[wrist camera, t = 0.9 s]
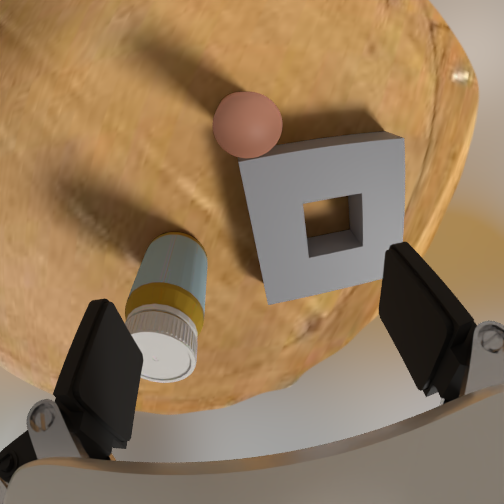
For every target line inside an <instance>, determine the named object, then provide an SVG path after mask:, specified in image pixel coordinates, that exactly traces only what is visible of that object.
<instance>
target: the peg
mask: <svg viewBox="0 0 504 504" xmlns="http://www.w3.org/2000/svg"><path fill="white" fill-rule="evenodd" d="M281 132H282V117H281V114H280V111H279V109H278V108H277V106H276V105H275V104H274V103H273V102H272V101H271V100H270V99H269V98H268V97H266V96H264V95H262V94H259V93H255V92H234V93H231V94H229V95H227V96H226V97H224V98H223V99H222V101H221V102H220V104H219V106H218V108H217V110H216V112H215V115H214V118H213V133H214V136H215V138H216V141H217V142H218V144H219V145H220V146H221V147H222V148H223V149H224V150H225V151H226V152H228V153H229V154H231V155H233V156H236V157H240V158H255V157H259V156H261V155H263V154H265V153H267V152H268V151H270V150H271V149H272V148H273V147H274V146H275V145H276V143H277V142H278V140H279V138H280V136H281Z"/></svg>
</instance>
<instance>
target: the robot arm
mask: <svg viewBox="0 0 504 504" xmlns="http://www.w3.org/2000/svg"><path fill="white" fill-rule="evenodd" d="M379 315H380V318H381V320H382V322H383V323H384V325H385V327H386V329H387V331H388V333H389V334H390V336H391V338H392V340H393V342H394V344H395V346H396V347H397V349H398V351H399V353H400V355H401V357H402V359H403V361H404V363H405V365H406V367H407V368H408V370H409V372H410V374H411V376H412V378H413V380H414V382H415V384H416V386H417V388H418V389H419V390H423V392H424V394H425V396H426V397H427V396H430V395H432V394H434V393H436V392H439V395H440V397H441V402H440V405H439V406H438V407H436V408H434V409H431V410H429V411H426V412H424V413H422V414H419V415H416V416H414V417H411V418H408V419H406V420H403V421H400V422H397V423H395V424H392V425H389V426H386V427H383V428H380V429H378V430H374V431H371V432H368V433H364V434H361V435H358V436H355V437H351V438H347V439H343V440H340V441H336V442H332V443H328V444H324V445H319V446H315V447H310V448H305V449H301V450H296V451H291V452H285V453H279V454H273V455H266V456H259V457H252V458H243V459H234V460H223V461H210V462H186V463H149V462H128V461H127V462H126V461H116V460H115V458H114V456H113V455H112V453H111V451H112V447H113V448H122V449H126V446H127V441H129V440H130V439H131V434H132V427H133V420H134V413H135V407H136V400H137V394H138V388H139V383H140V377H141V372H142V366H143V354H142V352H141V350H140V349H139V347H138V345H137V344H136V342H135V340H134V339H133V337H132V335H131V334H130V332H129V330H128V329H127V327H126V325H125V323H124V322H123V320H122V318H121V316H120V315H119V313H118V311H117V309H116V307H115V305H114V304H113V303H112V302H109V301H108V300H107V299H99V300H93V301H91V302H90V303H89V305H88V307H87V310H86V312H85V314H84V316H83V319H82V321H81V323H80V325H79V328H78V330H77V332H76V335H75V337H74V340H73V342H72V344H71V347H70V349H69V352H68V354H67V357H66V359H65V362H64V365H63V367H62V370H61V373H60V375H59V378H58V381H57V384H56V387H55V390H54V393H53V395H54V396H55V397H56V399H55V402H54V401H52V400H49V399H44V400H41V401H39V402H37V403H36V404H35V405H34V406H33V407H32V408H31V409H30V411H29V413H28V416H27V428H28V430H27V431H26V432H25V433H23V434H22V435H21V436H19V437H18V438H17V439H15V440H14V441H13V442H12V443H10V444H9V445H8V446H7V447H5V448H4V449H3V450H2V451H1V452H0V504H504V326H503V325H502V324H500V323H498V322H495V321H485V322H482V323H480V324H479V325H478V326H477V325H476V324H475V323H474V319H473V318H472V317H471V315H470V314H469V313H468V312H467V310H466V309H465V308H464V306H463V305H462V304H461V303H460V302H459V300H458V299H457V298H456V296H455V295H454V294H453V293H452V292H451V290H450V289H449V288H448V287H447V286H446V285H445V283H444V282H443V281H442V280H441V279H440V278H439V276H438V275H437V274H436V273H435V272H434V271H433V270H432V269H431V267H430V266H429V265H428V264H427V263H426V262H425V261H424V260H423V258H422V257H421V256H420V255H419V254H418V253H417V252H416V251H415V250H414V249H413V248H412V247H411V246H410V245H409V243H407V242H401V243H396V244H392V245H390V247H389V250H386V252H385V259H384V269H383V279H382V287H381V296H380V303H379Z"/></svg>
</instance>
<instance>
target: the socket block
mask: <svg viewBox="0 0 504 504" xmlns="http://www.w3.org/2000/svg"><path fill="white" fill-rule="evenodd" d="M238 163H239V167H240V172H241V177H242V181H243V186H244V191H245V196H246V200H247V205H248V210H249V215H250V220H251V224H252V229H253V234H254V239H255V243H256V248H257V253H258V258H259V263H260V268H261V272H262V277H263V282H264V287H265V292H266V297H267V301H268V305H270V304H275V303H280V302H285V301H290V300H294V299H299V298H303V297H308V296H312V295H317V294H321V293H326V292H330V291H334V290H338V289H343V288H347V287H351V286H355V285H359V284H363V283H367V282H371V281H375V280H379V279H383V269H384V259H385V252H386V250H389V247H390V245H392V244H396V243H401V242H403V228H404V207H405V147H404V138H402V137H400V136H397V135H394V134H391V133H389V132H386V131H382V132H371V133H361V134H352V135H343V136H335V137H327V138H320V139H313V140H306V141H300V142H293V143H287V144H281V145H275V146H274V147H273V148H272V149H271V150H270V151H268V152H267V153H265V154H263V155H261V156H259V157H255V158H240V157H238ZM342 196H348V200H349V221H350V230H345V231H340V232H335V233H330V234H325V235H320V236H316V237H311V238H307V236H306V227H305V219H304V210H303V204H304V203H309V202H315V201H320V200H326V199H331V198H337V197H342Z"/></svg>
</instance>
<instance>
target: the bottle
mask: <svg viewBox="0 0 504 504" xmlns="http://www.w3.org/2000/svg"><path fill="white" fill-rule="evenodd" d="M206 278H207V254H206V252H205V249H204V248H203V246H202V245H201V244H200V243H199V241H197V240H196V239H195V238H193V237H192V236H190V235H188V234H184V233H181V232H168V233H165V234H162V235H160V236H158V237H157V238H155V239H154V240H153V241H152V242H151V244H150V245H149V247H148V249H147V251H146V253H145V256H144V258H143V261H142V263H141V266H140V268H139V271H138V273H137V276H136V278H135V281H134V284H133V286H132V289H131V292H130V294H129V297H128V300H127V303H126V308H125V317H126V322H125V325H126V327H127V329H128V330H129V332H130V334H131V335H132V337H133V339H134V340H135V342H136V344H137V345H138V347H139V349H140V350H141V352H142V354H143V366H142V372H141V378H143V379H146V380H149V381H154V382H161V383H169V382H176V381H180V380H182V379H184V378H186V377H188V376H189V375H190V374H191V373H192V372H193V370H194V368H195V365H196V359H197V337H198V335H199V334H200V332H201V330H202V327H203V322H204V310H205V294H206Z"/></svg>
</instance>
